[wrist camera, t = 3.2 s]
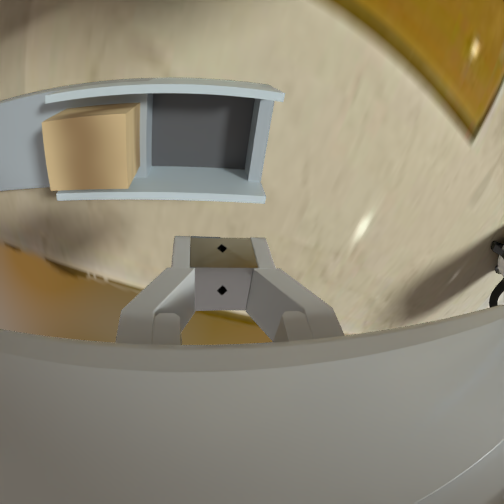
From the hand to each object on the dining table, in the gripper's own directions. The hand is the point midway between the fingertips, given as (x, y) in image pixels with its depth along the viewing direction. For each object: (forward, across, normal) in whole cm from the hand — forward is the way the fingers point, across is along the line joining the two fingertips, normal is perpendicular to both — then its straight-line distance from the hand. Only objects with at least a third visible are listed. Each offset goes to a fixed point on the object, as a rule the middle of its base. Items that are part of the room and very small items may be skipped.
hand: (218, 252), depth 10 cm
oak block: (+13, +8, 0) cm, 16 cm away
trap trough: (+16, +8, 0) cm, 18 cm away
